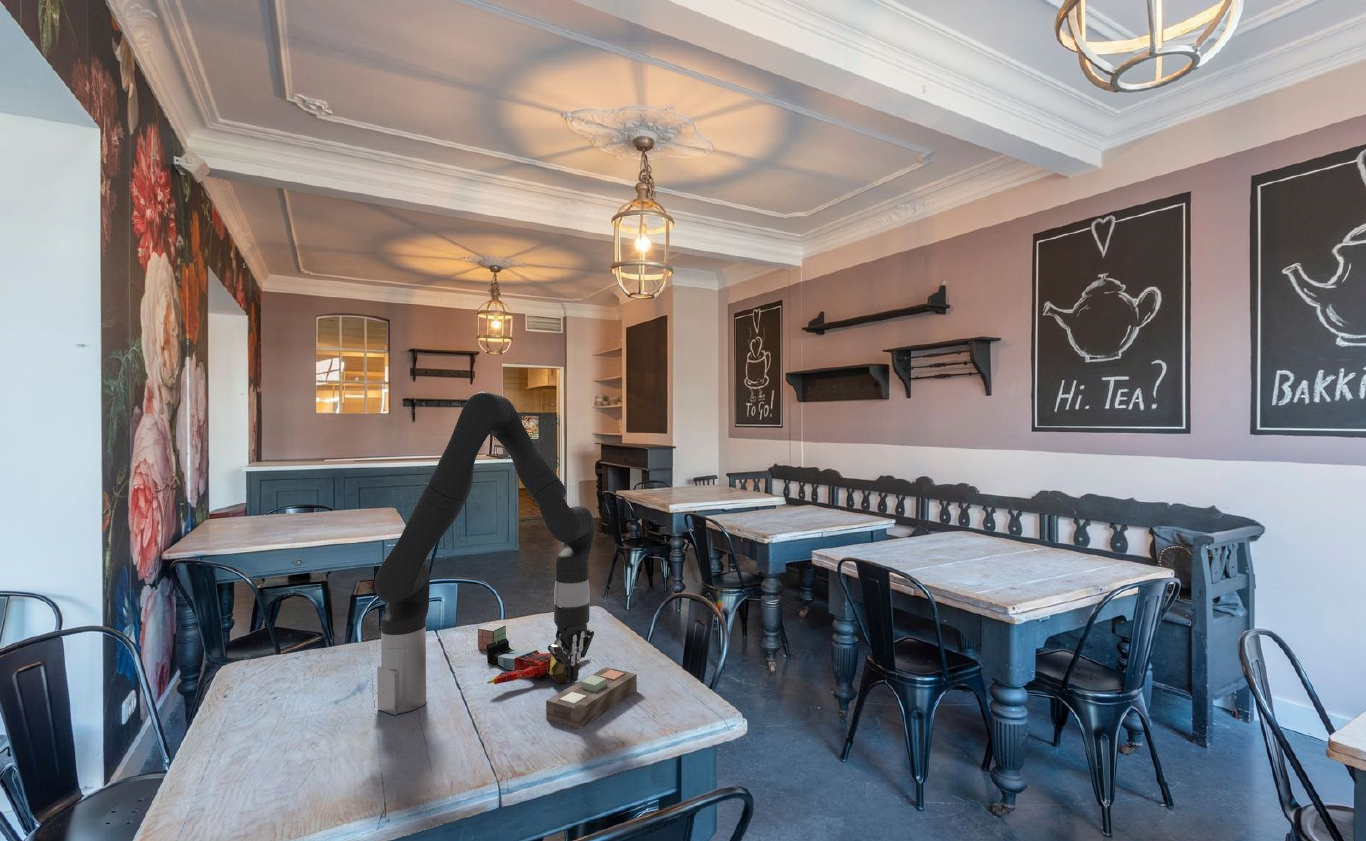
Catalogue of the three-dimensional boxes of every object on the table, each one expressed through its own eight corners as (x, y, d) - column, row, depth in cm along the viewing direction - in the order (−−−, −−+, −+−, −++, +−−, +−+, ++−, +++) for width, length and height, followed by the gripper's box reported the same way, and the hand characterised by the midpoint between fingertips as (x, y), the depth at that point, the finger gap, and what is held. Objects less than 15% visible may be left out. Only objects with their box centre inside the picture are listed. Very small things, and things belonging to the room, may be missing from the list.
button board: (579, 729, 130) (578, 709, 130) (546, 719, 134) (546, 700, 134) (636, 691, 148) (636, 674, 148) (606, 683, 152) (606, 666, 152)
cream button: (574, 717, 132) (574, 702, 132) (559, 712, 134) (559, 698, 134) (586, 709, 136) (586, 695, 136) (572, 705, 138) (572, 691, 138)
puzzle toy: (506, 645, 180) (506, 625, 180) (493, 651, 175) (493, 631, 175) (490, 642, 182) (490, 622, 182) (477, 649, 177) (477, 628, 177)
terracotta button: (614, 692, 144) (614, 679, 144) (600, 688, 146) (600, 675, 146) (624, 685, 148) (624, 673, 148) (610, 682, 150) (610, 669, 150)
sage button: (595, 698, 138) (594, 685, 138) (580, 694, 140) (580, 681, 140) (606, 691, 142) (606, 678, 142) (592, 688, 144) (592, 675, 144)
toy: (446, 690, 156) (523, 710, 138) (444, 658, 157) (520, 674, 139) (543, 653, 181) (619, 666, 163) (541, 626, 181) (616, 636, 163)
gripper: (578, 591, 143) (578, 667, 142) (537, 605, 131) (536, 688, 131) (604, 595, 139) (604, 674, 139) (564, 611, 127) (564, 696, 127)
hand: (571, 681), depth 135 cm, fingers closed
